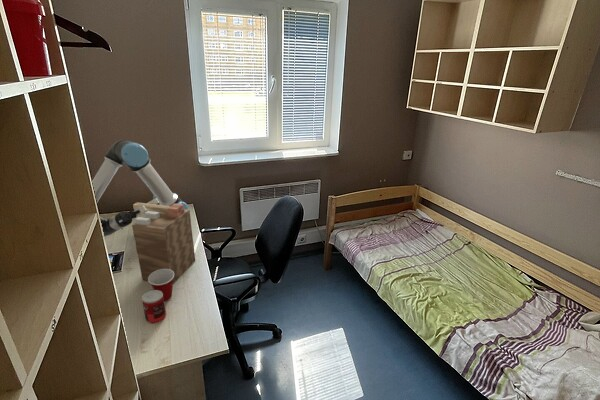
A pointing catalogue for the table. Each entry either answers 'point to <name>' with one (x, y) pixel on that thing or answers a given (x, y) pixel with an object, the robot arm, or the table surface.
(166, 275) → the plastic cup
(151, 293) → the canned food
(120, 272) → the table surface
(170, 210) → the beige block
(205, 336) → the table surface
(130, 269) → the table surface
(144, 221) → the twin white cubes
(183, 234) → the wooden tower
